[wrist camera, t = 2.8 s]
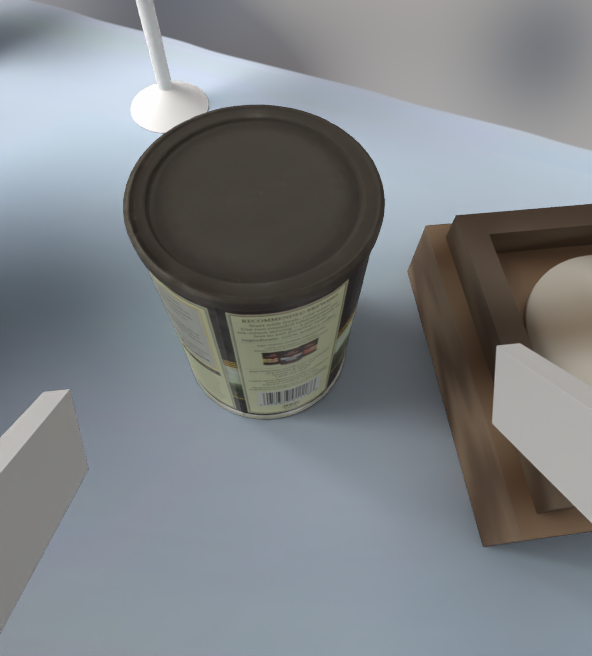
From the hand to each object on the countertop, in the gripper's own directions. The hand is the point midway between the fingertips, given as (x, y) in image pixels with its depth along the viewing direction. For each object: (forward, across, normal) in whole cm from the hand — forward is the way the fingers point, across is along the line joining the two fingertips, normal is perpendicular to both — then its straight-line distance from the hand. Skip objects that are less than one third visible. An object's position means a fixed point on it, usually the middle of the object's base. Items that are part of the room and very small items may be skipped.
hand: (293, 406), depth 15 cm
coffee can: (+16, 0, -4) cm, 17 cm away
